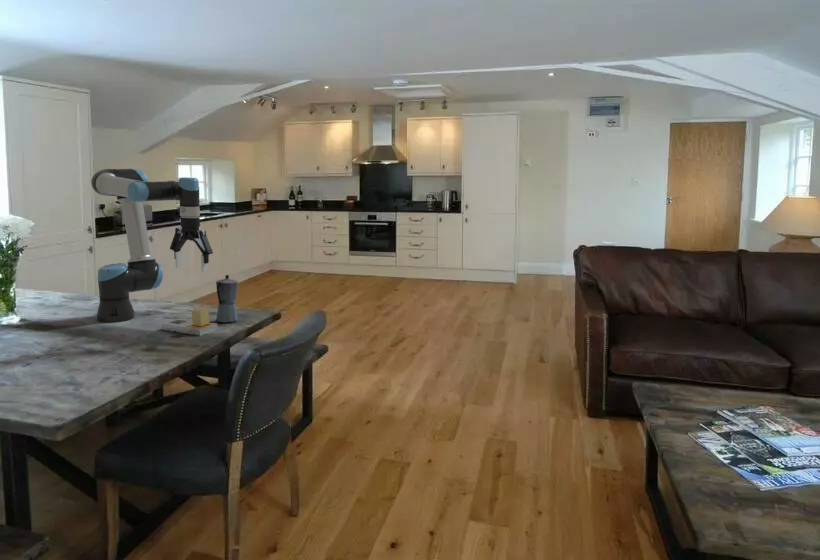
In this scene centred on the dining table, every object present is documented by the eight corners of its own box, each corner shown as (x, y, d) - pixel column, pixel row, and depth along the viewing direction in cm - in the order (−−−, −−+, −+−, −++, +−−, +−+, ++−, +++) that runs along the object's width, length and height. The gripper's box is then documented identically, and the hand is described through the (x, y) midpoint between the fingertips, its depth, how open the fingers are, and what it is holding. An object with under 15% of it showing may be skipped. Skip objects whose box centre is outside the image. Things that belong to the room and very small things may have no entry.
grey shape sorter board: (162, 329, 254) (161, 323, 254) (180, 324, 263) (180, 317, 263) (200, 335, 246) (199, 328, 245) (217, 329, 255) (217, 323, 254)
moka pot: (244, 317, 276) (243, 272, 272) (231, 326, 261) (229, 279, 257) (223, 316, 277) (221, 272, 273) (209, 325, 262) (207, 278, 258)
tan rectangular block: (193, 332, 251) (191, 310, 249) (200, 329, 255) (199, 308, 253) (201, 333, 249) (200, 311, 248) (209, 330, 253) (208, 309, 252)
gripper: (159, 215, 250) (161, 267, 254) (207, 220, 239) (209, 274, 244) (173, 213, 256) (175, 264, 260) (221, 218, 246) (222, 271, 250)
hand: (191, 269), depth 252 cm, fingers open, 13 cm apart
